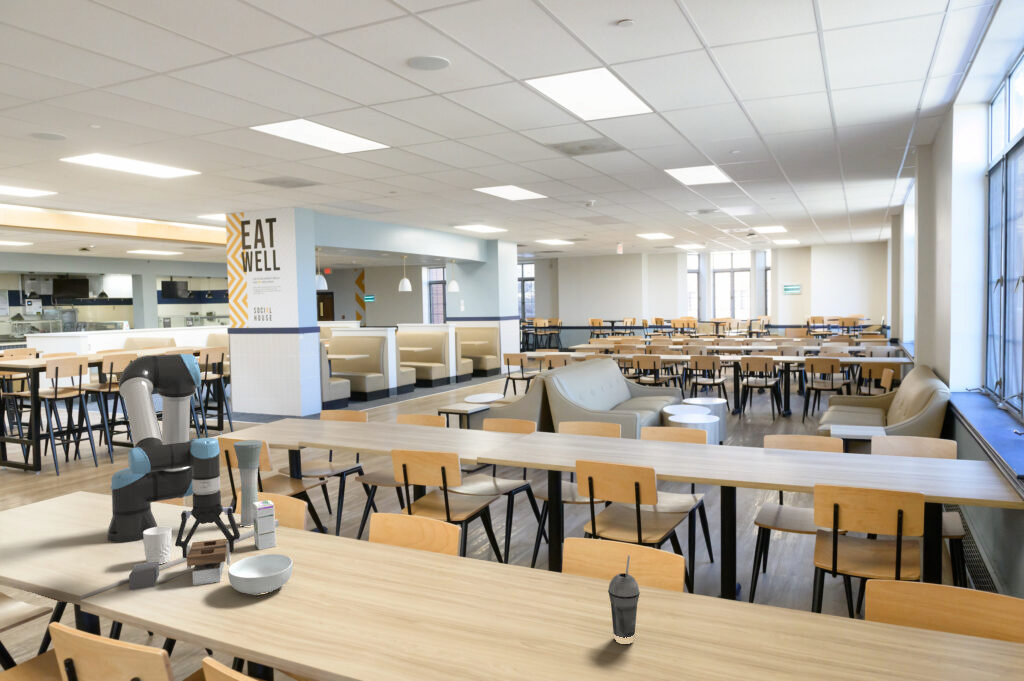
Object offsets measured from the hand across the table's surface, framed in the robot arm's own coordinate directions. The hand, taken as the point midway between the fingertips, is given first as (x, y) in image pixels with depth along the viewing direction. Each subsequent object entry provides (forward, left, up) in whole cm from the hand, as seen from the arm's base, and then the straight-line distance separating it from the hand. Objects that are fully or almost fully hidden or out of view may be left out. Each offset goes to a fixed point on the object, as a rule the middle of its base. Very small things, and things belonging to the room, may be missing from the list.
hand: (209, 565), depth 196 cm
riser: (0, -17, -3) cm, 17 cm away
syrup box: (-19, +15, -3) cm, 24 cm away
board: (0, 0, +3) cm, 3 cm away
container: (-45, +9, -3) cm, 46 cm away
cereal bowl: (+17, +15, -3) cm, 23 cm away
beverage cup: (+77, +96, -3) cm, 123 cm away
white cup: (-16, -16, -3) cm, 23 cm away
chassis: (0, 0, -2) cm, 2 cm away
